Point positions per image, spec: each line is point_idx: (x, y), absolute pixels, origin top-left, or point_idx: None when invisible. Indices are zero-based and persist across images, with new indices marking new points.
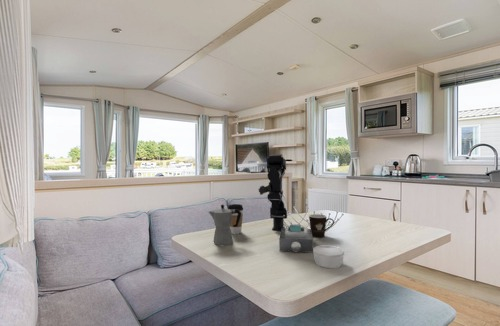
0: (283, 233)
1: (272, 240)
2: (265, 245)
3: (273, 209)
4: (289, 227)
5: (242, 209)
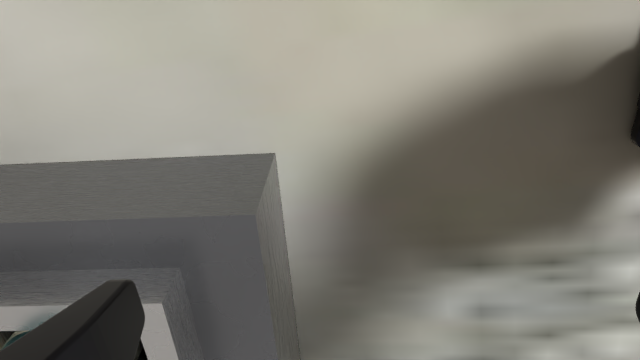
0: (43, 251)
1: (219, 62)
2: (26, 13)
3: (18, 346)
4: (142, 332)
5: None
